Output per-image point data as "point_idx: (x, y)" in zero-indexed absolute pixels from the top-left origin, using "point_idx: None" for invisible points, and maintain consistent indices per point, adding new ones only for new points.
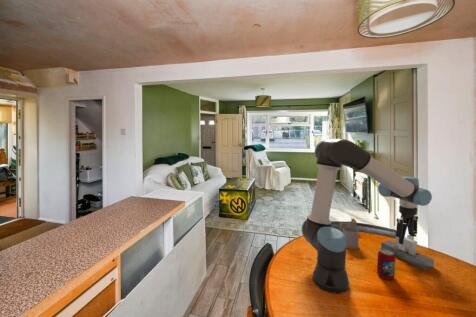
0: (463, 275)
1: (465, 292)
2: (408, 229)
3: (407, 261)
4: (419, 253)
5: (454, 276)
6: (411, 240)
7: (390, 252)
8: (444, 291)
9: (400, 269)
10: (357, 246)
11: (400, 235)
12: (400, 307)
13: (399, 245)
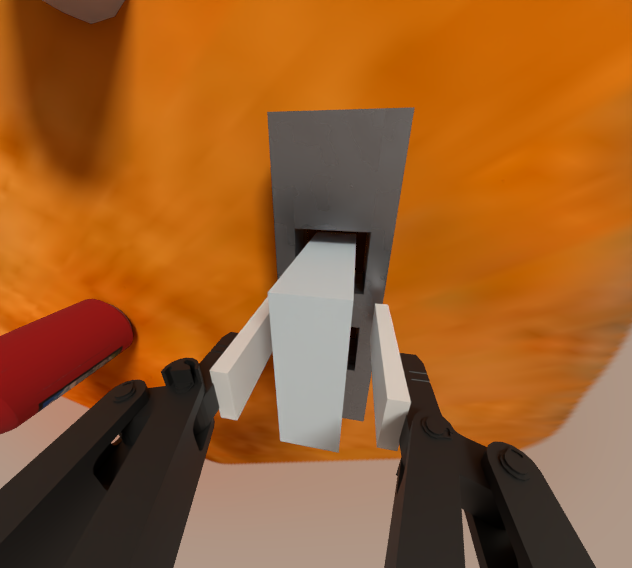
0: None
1: (286, 455)
2: (396, 538)
3: None
4: (366, 367)
5: (358, 432)
6: (314, 422)
7: None
8: (235, 429)
9: (204, 326)
10: (92, 7)
11: (108, 458)
12: (76, 394)
13: (260, 312)
